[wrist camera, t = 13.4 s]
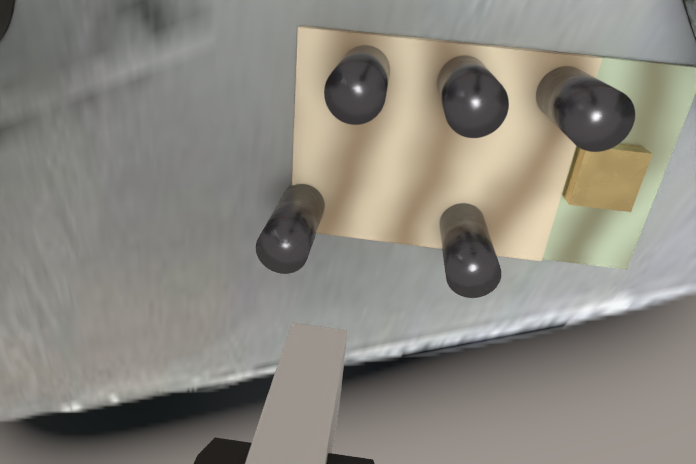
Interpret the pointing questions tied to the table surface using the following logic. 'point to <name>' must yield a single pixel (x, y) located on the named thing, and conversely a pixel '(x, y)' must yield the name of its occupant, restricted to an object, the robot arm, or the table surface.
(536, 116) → the board
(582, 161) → the tan wooden tile
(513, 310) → the table surface
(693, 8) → the chalk box
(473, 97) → the spacers
